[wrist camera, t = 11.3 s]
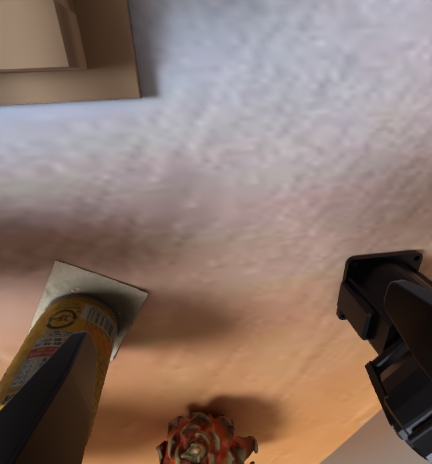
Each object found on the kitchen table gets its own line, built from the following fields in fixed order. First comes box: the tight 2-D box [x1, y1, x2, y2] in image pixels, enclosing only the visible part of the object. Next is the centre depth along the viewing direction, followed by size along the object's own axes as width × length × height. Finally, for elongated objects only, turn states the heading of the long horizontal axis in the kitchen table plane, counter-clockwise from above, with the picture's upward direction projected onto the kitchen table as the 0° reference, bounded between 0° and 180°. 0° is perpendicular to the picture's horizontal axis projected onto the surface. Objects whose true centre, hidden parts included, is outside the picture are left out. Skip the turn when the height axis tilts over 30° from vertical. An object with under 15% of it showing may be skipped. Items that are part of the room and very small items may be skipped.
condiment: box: [0, 260, 148, 446], centre depth 19 cm, size 7×8×12 cm
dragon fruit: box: [156, 411, 258, 464], centre depth 29 cm, size 8×8×12 cm
